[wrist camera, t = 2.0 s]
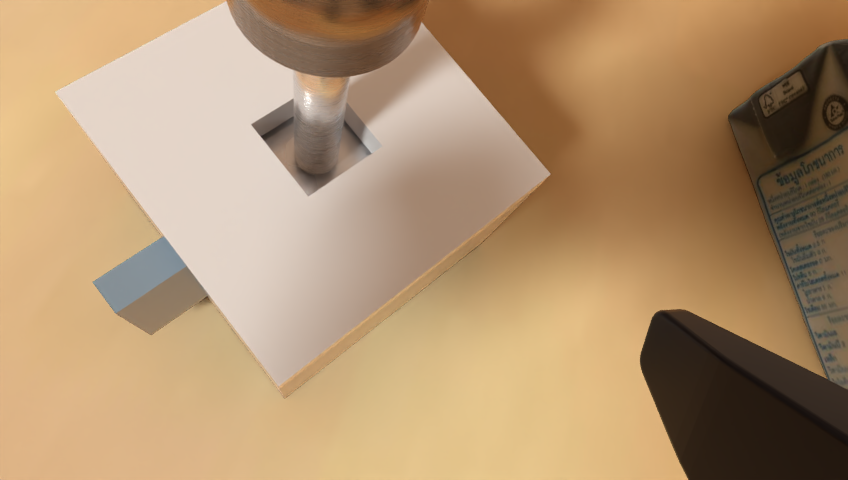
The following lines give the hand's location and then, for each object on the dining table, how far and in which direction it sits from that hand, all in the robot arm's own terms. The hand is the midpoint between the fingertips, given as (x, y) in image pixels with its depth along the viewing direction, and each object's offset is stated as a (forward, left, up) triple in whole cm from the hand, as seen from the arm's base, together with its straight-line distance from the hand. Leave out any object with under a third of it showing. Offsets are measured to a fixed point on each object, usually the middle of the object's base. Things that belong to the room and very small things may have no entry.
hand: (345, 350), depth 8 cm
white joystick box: (+5, -4, -14) cm, 15 cm away
